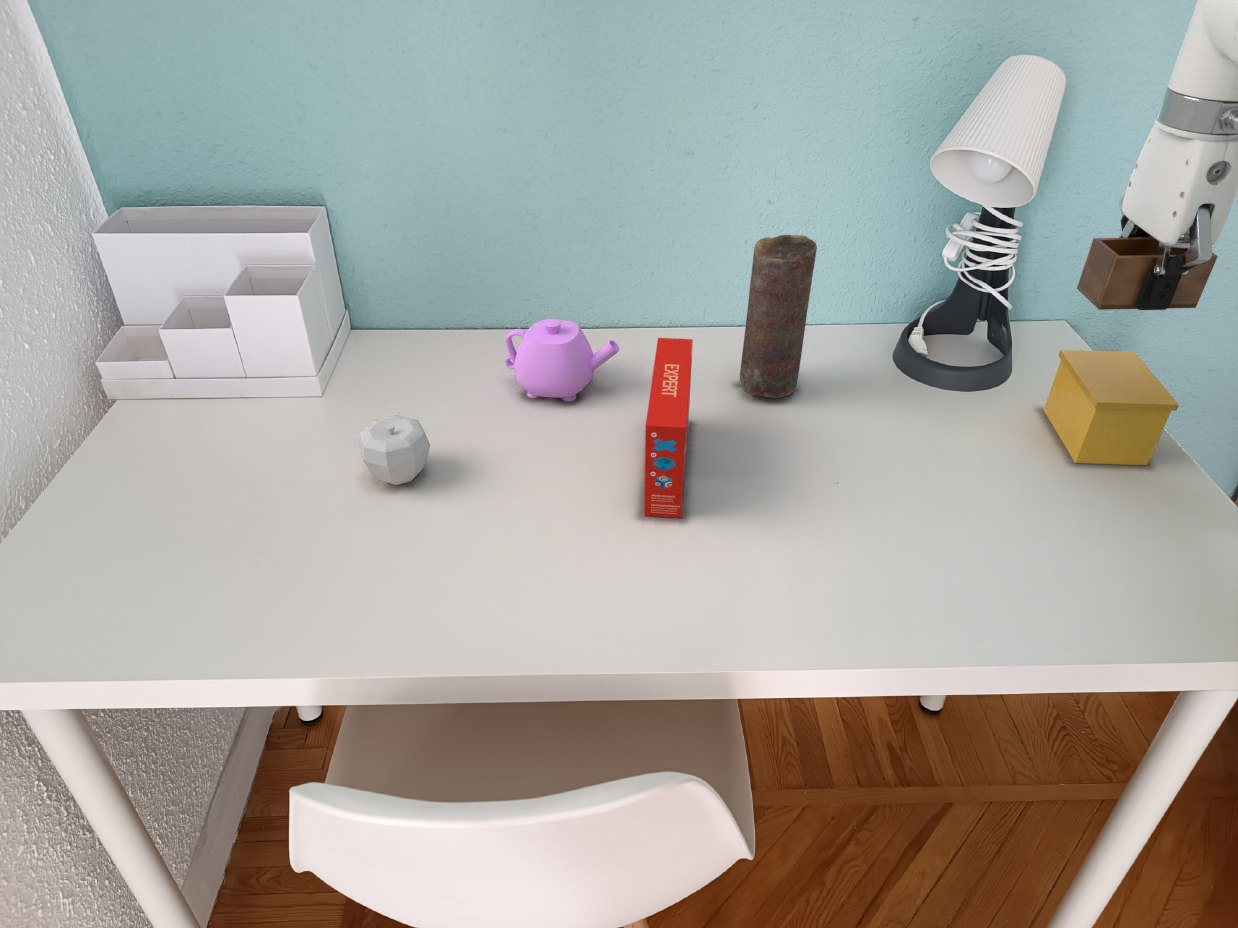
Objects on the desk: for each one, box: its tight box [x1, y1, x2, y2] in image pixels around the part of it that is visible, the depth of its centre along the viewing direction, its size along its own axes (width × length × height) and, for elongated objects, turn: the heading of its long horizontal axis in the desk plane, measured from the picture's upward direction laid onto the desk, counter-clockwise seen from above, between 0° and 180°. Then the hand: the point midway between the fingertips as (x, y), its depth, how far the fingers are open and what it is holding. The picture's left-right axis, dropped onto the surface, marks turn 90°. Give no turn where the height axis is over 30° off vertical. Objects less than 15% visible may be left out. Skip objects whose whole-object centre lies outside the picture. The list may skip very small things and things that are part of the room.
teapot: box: [504, 318, 621, 402], centre depth 110 cm, size 10×15×9 cm
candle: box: [739, 234, 818, 399], centre depth 106 cm, size 8×7×20 cm
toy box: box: [643, 337, 694, 519], centre depth 96 cm, size 18×4×12 cm, turn 174°
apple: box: [357, 414, 431, 486], centre depth 96 cm, size 8×8×7 cm
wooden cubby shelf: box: [1076, 236, 1218, 311], centre depth 89 cm, size 10×5×6 cm, turn 92°
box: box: [1043, 349, 1180, 466], centre depth 101 cm, size 12×9×8 cm
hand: (1136, 294), depth 90 cm, fingers closed on wooden cubby shelf, 5 cm apart
